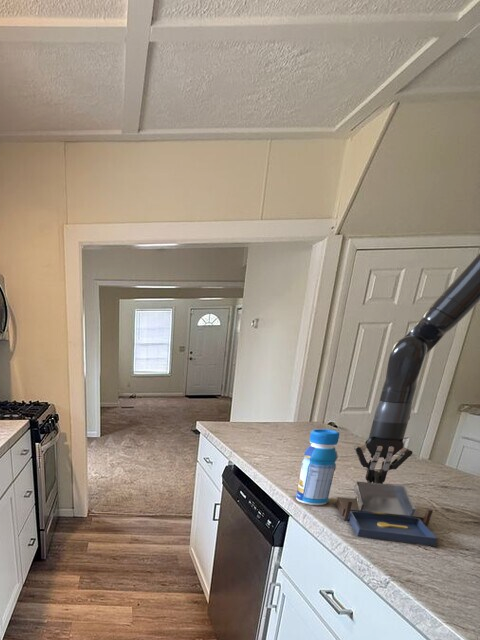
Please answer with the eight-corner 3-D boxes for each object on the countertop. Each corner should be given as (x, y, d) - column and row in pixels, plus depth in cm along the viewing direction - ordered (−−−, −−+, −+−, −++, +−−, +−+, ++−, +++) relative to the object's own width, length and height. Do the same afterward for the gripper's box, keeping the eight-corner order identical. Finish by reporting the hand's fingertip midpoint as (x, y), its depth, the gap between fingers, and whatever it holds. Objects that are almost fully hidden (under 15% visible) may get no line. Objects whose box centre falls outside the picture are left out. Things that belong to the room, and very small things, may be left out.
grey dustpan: (395, 480, 111) (398, 472, 109) (411, 517, 97) (415, 509, 96) (349, 476, 115) (352, 468, 113) (359, 511, 101) (362, 503, 100)
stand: (409, 511, 107) (415, 493, 105) (426, 530, 96) (433, 510, 94) (335, 503, 113) (339, 486, 111) (344, 520, 102) (348, 501, 100)
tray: (416, 525, 99) (419, 518, 98) (435, 546, 88) (438, 538, 88) (347, 517, 104) (349, 510, 103) (357, 536, 93) (359, 529, 93)
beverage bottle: (314, 508, 110) (329, 435, 102) (288, 498, 117) (300, 430, 109) (334, 503, 113) (350, 432, 105) (308, 494, 120) (322, 427, 112)
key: (378, 526, 97) (378, 525, 97) (375, 522, 99) (376, 521, 99) (408, 530, 95) (409, 528, 95) (405, 526, 97) (406, 524, 97)
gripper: (417, 418, 105) (399, 481, 112) (357, 416, 110) (343, 476, 116) (427, 423, 99) (407, 489, 105) (363, 420, 103) (348, 484, 110)
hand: (373, 482), depth 111 cm, fingers closed on grey dustpan
